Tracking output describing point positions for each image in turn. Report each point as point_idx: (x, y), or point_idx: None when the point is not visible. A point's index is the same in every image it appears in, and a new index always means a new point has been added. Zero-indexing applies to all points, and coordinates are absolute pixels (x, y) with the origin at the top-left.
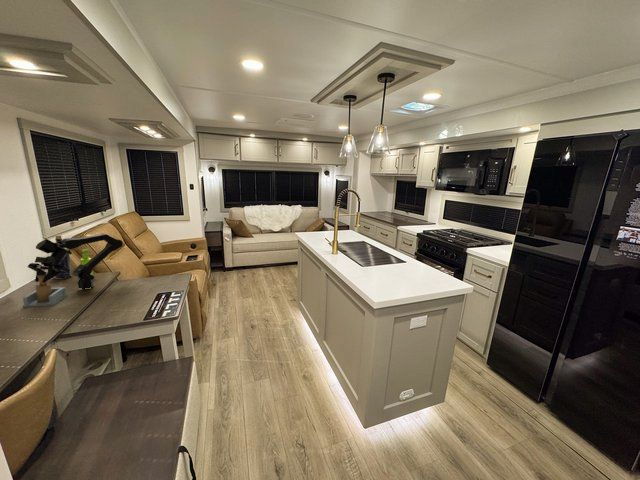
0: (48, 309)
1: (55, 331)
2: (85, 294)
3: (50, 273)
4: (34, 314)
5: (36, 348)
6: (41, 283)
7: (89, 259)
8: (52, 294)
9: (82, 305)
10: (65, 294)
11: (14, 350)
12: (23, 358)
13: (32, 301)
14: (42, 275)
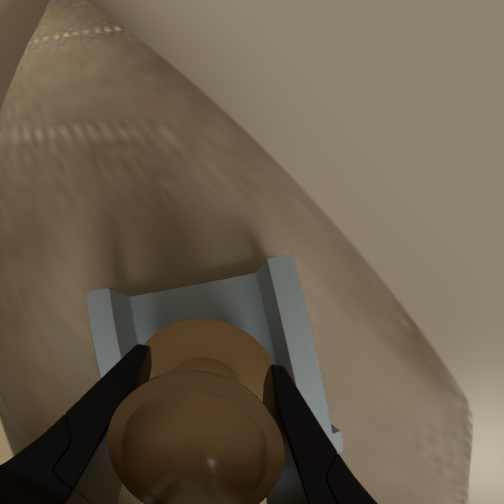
0: (103, 235)
1: (16, 75)
2: None
3: (16, 461)
4: (137, 171)
5: (40, 25)
6: (188, 362)
7: None
8: (104, 329)
9: None
10: None
11: (78, 11)
12: (53, 6)
13: (269, 328)
14: (155, 426)
